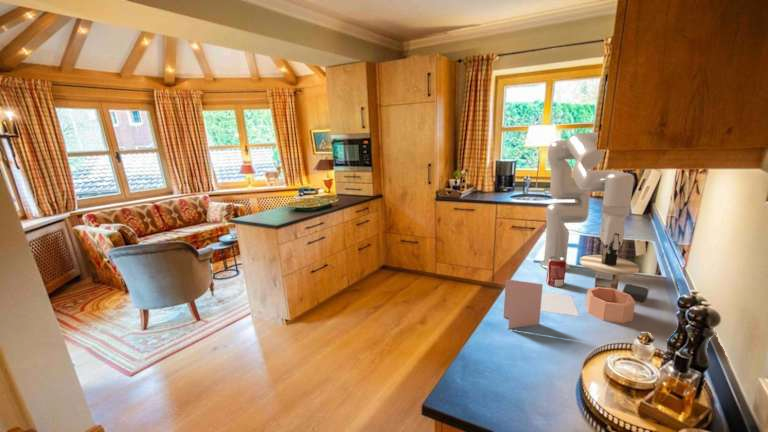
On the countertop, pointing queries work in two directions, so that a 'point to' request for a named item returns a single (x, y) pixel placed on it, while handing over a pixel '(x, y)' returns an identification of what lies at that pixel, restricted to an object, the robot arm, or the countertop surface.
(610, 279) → the coffee box
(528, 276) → the countertop surface
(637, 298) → the phone
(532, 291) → the greeting card
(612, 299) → the bowl
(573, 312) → the mat
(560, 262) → the soda can
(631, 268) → the lid
